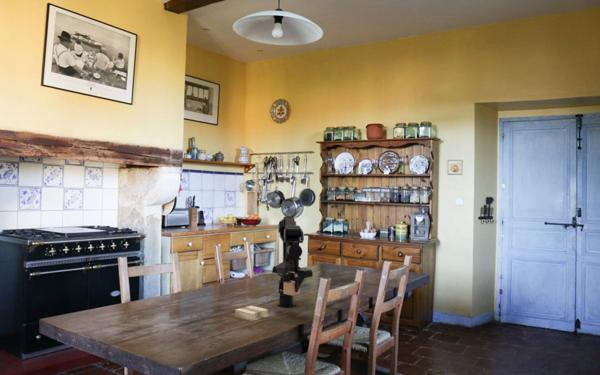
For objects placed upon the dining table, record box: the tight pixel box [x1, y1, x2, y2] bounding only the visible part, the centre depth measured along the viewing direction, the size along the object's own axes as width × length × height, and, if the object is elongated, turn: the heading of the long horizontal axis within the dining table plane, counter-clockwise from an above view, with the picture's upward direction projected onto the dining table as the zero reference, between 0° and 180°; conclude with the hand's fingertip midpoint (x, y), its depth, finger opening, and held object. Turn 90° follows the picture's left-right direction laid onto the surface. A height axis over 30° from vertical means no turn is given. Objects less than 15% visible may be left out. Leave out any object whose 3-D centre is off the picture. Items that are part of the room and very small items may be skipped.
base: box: [234, 305, 269, 322], centre depth 206 cm, size 10×10×3 cm
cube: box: [283, 281, 301, 296], centre depth 209 cm, size 5×5×5 cm
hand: (291, 291), depth 209 cm, fingers closed on cube, 5 cm apart
